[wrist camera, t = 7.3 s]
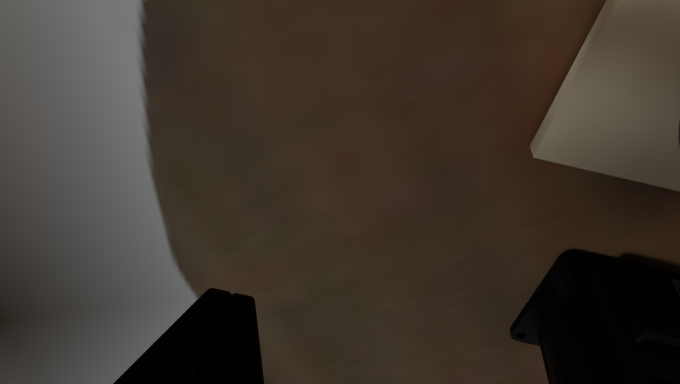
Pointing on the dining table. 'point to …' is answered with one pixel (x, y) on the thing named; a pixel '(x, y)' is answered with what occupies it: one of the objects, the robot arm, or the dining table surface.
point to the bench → (621, 97)
